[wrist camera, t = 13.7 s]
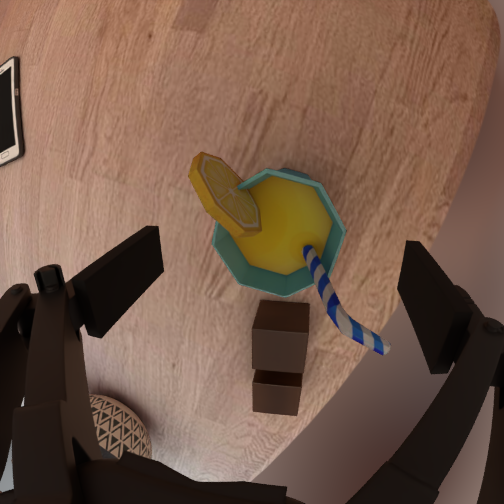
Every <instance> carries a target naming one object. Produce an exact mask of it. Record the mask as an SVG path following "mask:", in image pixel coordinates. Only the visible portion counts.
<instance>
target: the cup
mask: <svg viewBox="0 0 504 504" xmlns="http://www.w3.org/2000/svg"><path fill="white" fill-rule="evenodd" d="M188 177H189V179H190V181H191V183H192V185H193V187H194V189H195V191H196V193H197V195H198V197H199V199H200V201H201V202H202V204H203V206H204V208H205V210H206V212H207V213H208V214H209V215H210V216H212V217H213V218H214V219H215V220H216V223H215V229H214V234H213V239H212V245H213V247H214V248H215V250H216V251H217V253H218V254H219V256H220V257H221V259H222V260H223V262H224V263H225V265H226V266H227V268H228V269H229V271H230V272H231V274H232V275H233V277H234V278H235V280H236V281H237V283H238V284H239V285H242V286H246V287H249V288H253V289H256V290H260V291H263V292H267V293H270V294H274V295H277V296H281V297H285V298H286V297H289V296H291V295H293V294H295V293H298V292H300V291H302V290H304V289H306V288H308V287H311V286H313V285H316V287H317V290H318V292H319V294H320V297H321V299H322V302H323V304H324V306H325V309H326V311H327V313H328V315H329V316H330V318H331V319H332V321H333V322H334V324H335V325H336V326H337V327H338V329H339V330H340V331H341V333H342V334H344V335H346V336H347V337H349V338H351V339H353V340H355V341H357V342H359V343H360V344H362V345H364V346H366V347H368V348H370V349H372V350H373V351H375V352H377V353H379V354H381V355H385V354H387V353H388V352H389V350H390V348H391V347H390V343H389V342H388V341H386V340H385V339H383V338H382V337H380V336H378V335H377V334H375V333H374V332H372V331H371V330H369V329H367V328H366V327H364V326H363V325H361V324H359V323H358V322H356V321H355V320H353V319H352V318H351V317H350V316H349V315H348V314H347V313H346V312H345V310H344V309H343V308H342V306H341V304H340V301H339V299H338V297H337V295H336V293H335V291H334V289H333V287H332V284H331V282H330V280H329V278H330V276H331V273H332V271H333V268H334V265H335V262H336V260H337V257H338V254H339V251H340V249H341V246H342V243H343V240H344V237H345V234H346V231H347V230H346V229H345V227H344V225H343V223H342V221H341V219H340V217H339V215H338V213H337V211H336V209H335V208H334V206H333V204H332V202H331V200H330V198H329V197H328V195H327V193H326V191H325V189H324V188H323V186H322V184H321V183H319V182H316V181H313V180H311V178H310V177H309V176H308V175H307V174H304V173H301V172H297V171H294V170H290V169H286V168H283V169H280V170H273V169H268V168H266V169H265V170H263V171H261V172H260V173H258V174H256V175H255V176H253V177H251V178H249V179H248V180H246V181H243V180H242V179H241V178H240V177H239V176H238V175H237V174H236V173H235V172H234V171H233V170H232V169H231V168H230V167H229V166H228V165H227V164H226V163H225V162H224V161H223V160H222V159H221V158H219V157H216V156H213V155H210V154H207V153H204V152H200V153H199V154H198V155H197V156H195V157H194V158H193V161H192V164H191V168H190V171H189V174H188Z"/></svg>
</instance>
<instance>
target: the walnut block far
mask: <svg viewBox="0 0 504 504" xmlns="http://www.w3.org/2000/svg"><path fill="white" fill-rule="evenodd" d="M302 376H303V373H291V372H279V371H269V370H259V369H256V370H255V374H254V378H253V382H252V396H253V412H260V413H270V414H280V415H291V416H297V414H298V408H299V402H300V395H301V388H302Z"/></svg>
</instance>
